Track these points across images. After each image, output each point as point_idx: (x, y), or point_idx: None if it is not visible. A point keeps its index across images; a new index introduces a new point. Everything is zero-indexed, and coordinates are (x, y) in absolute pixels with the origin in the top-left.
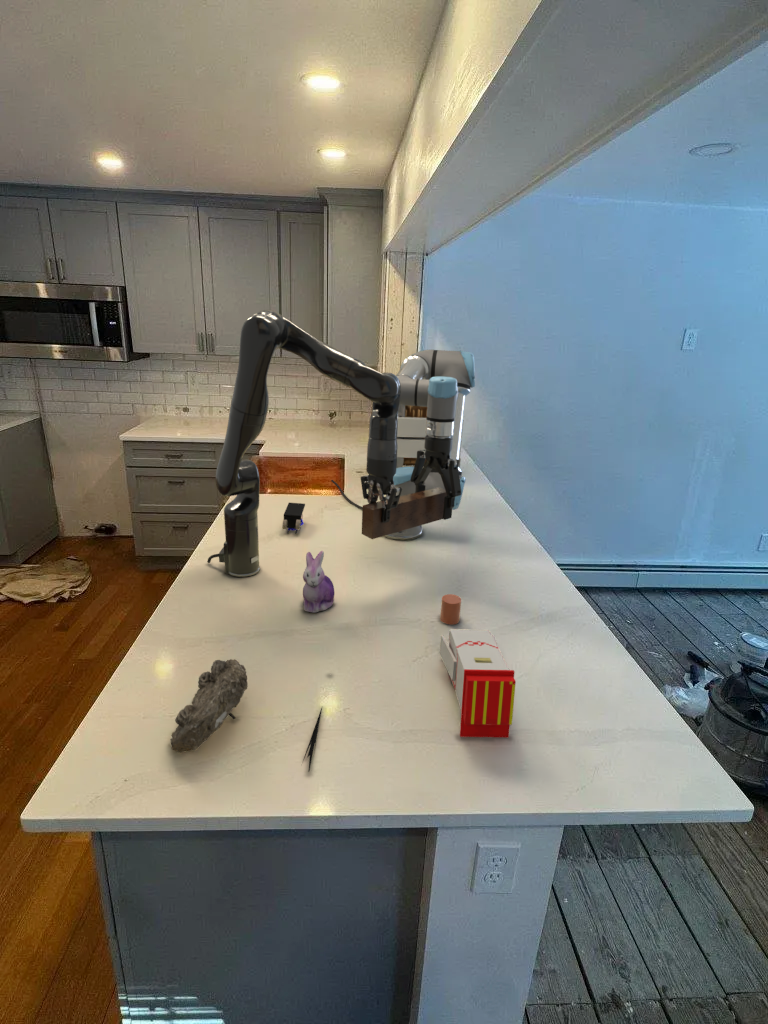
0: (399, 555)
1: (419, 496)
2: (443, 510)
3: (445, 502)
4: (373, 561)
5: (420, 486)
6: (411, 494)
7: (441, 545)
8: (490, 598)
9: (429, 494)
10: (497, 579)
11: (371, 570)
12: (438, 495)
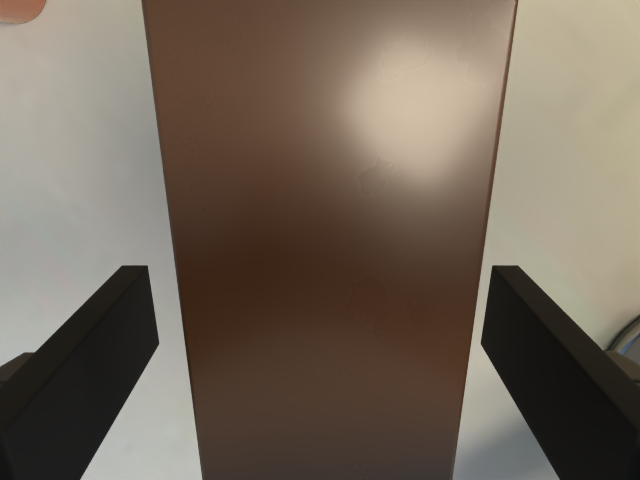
0: (545, 222)
1: (261, 82)
2: (110, 308)
3: (28, 371)
4: (590, 88)
5: (636, 474)
6: (469, 20)
7: (488, 402)
8: (77, 238)
9: (252, 332)
10: (175, 357)
11: (535, 15)
12: (206, 439)
